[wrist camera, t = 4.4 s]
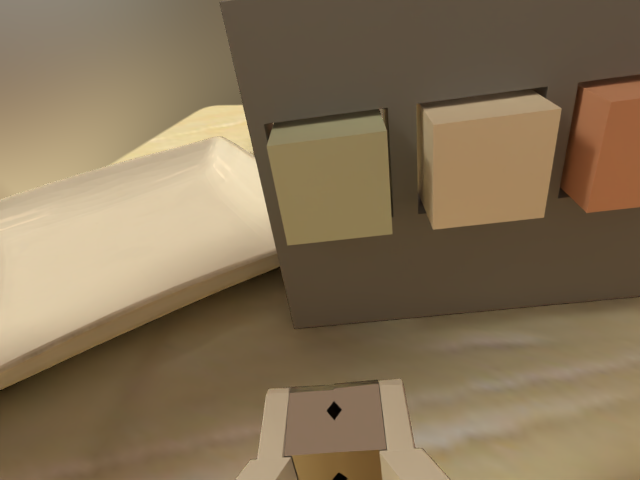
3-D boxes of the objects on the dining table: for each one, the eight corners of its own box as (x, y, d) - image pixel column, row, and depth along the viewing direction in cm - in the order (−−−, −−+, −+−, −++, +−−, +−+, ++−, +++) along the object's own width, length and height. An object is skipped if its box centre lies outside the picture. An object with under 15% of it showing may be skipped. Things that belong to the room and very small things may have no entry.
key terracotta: (586, 212, 19) (611, 102, 16) (547, 174, 22) (562, 77, 20) (704, 200, 19) (748, 84, 16) (645, 163, 22) (674, 62, 19)
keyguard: (294, 328, 26) (219, 2, 16) (300, 259, 31) (247, -9, 22) (653, 295, 24) (790, -87, 15) (588, 229, 30) (657, -74, 21)
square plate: (360, 261, 31) (355, 214, 29) (-107, 486, 21) (-167, 438, 19) (228, 160, 51) (219, 128, 49) (-39, 248, 41) (-64, 212, 39)
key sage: (287, 245, 20) (266, 146, 17) (292, 204, 23) (275, 116, 21) (392, 234, 20) (386, 131, 17) (382, 193, 23) (376, 102, 20)
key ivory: (433, 229, 19) (433, 124, 17) (416, 189, 23) (415, 97, 20) (543, 217, 19) (561, 108, 16) (511, 178, 22) (521, 83, 20)
